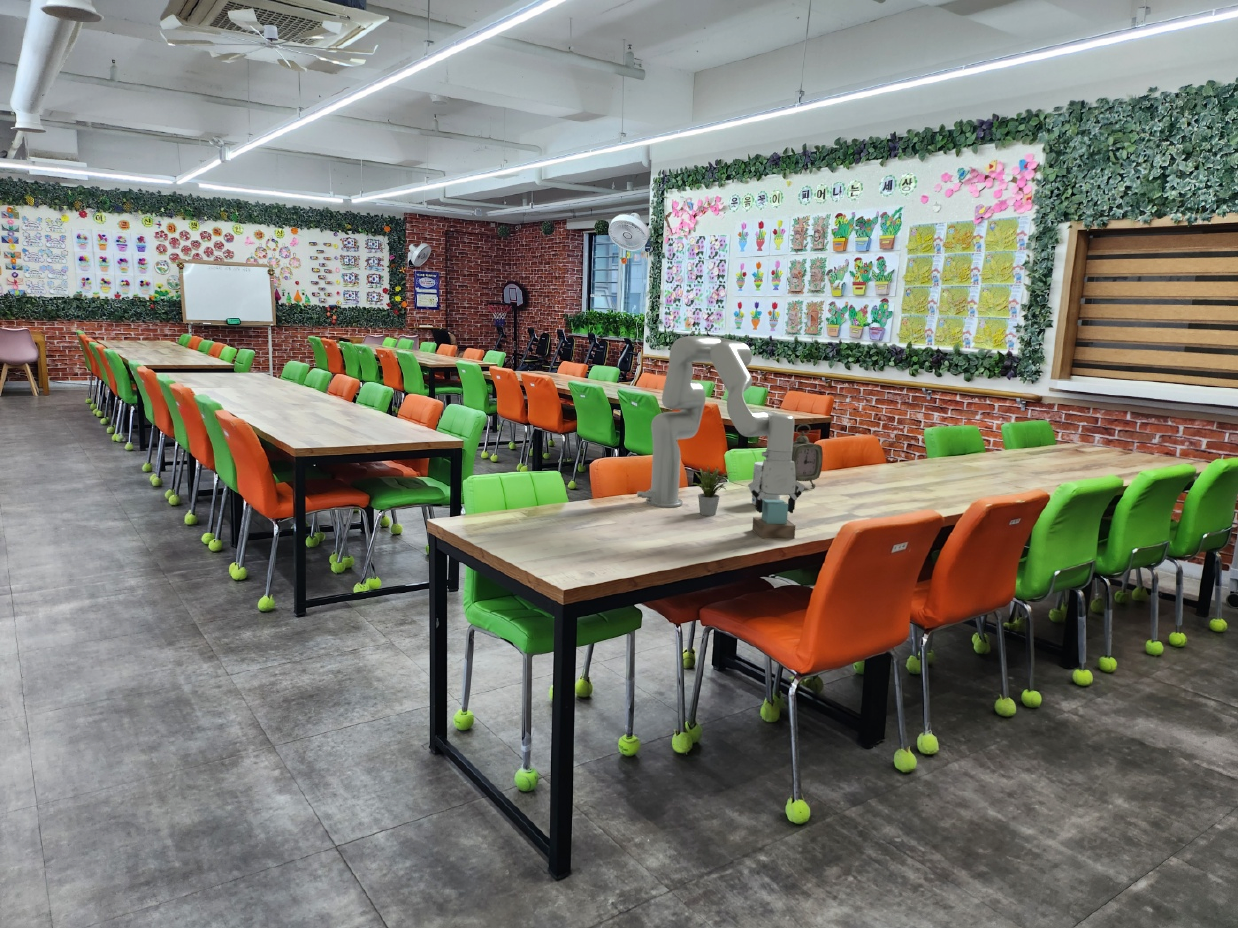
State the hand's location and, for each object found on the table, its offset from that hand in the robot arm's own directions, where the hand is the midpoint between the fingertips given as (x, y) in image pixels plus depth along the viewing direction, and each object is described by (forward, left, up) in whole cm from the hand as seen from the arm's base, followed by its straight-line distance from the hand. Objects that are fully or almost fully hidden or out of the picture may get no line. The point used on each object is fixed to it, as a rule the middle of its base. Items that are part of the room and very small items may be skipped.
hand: (774, 511), depth 255 cm
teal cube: (0, 0, -3) cm, 3 cm away
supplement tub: (+10, +40, -7) cm, 42 cm away
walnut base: (0, 0, -7) cm, 7 cm away
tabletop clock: (+33, +71, -7) cm, 79 cm away
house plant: (-14, +24, -7) cm, 29 cm away
